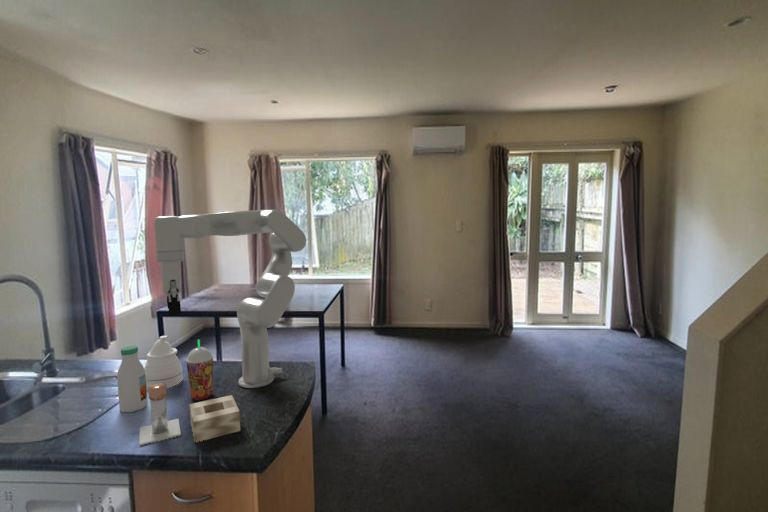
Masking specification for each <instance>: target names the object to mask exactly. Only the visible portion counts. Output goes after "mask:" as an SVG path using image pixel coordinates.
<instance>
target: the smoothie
mask: <svg viewBox="0 0 768 512" xmlns="http://www.w3.org/2000/svg"><path fill="white" fill-rule="evenodd" d="M185 362H186V369H187V378H188V383H189V384H188V385H189V392H190V396H191V397H192V399H193V400H195V401H201V400H203V401H204V400H206V399H208V398H209V397H211V395H212V393H213V382H214V381H213V377H214V376H213V375H214V373H213V369H214V368H213V367H214V355H213V354H212V353H211V351H210V350H209V349H208V348H206V347H203V346H201V340H200V339H197V347H195V348H193V349H192V350H191V351H189V353H188V355H187V357H186V359H185Z"/></svg>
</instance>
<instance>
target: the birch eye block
mask: <svg viewBox="0 0 768 512" xmlns="http://www.w3.org/2000/svg"><path fill="white" fill-rule="evenodd" d="M188 406H189V418H190V422H189V423H190V426H191V427H192V428H191V431H192V432H193V433H192V432H191V433H192V436H193V437H194V438H193V442H194V443H195V442H196V443H199V441H200V442H204V441H207V440H211V439H214V438H215V439H216V438H219V437H222V436H225V435H229V434H233V433H238V432H240V431H241V419H240V418H241V416H240V409H239V407H238V405H237V402H236V401H235V399H234V396H233V395H232V394H231V395H225V396H222V397H221V396H220V397H218V398H212V399H211V398H210V399H207V400H203V401H198V402H194V403H190V404H189V405H188ZM203 440H204V441H203Z"/></svg>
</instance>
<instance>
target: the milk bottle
mask: <svg viewBox="0 0 768 512" xmlns="http://www.w3.org/2000/svg"><path fill="white" fill-rule="evenodd" d="M138 351H139V349H138V346H137V345H128V346H124V347H122V348H121V349H120V356H121V357H122V358H121V362H120V364H119V367H118V370H117V373H116V374H117V375H116V377H117V379H116V380H117V393H118V395H117V396H118V405H119V411H121V412H122V413H134V412H137V411H140V410H142V409H144V408H145V407H146V406H147V405H148V393H147V391H148V390H146V378H145V370H144V367H145V366H144V365H143V364H142V362H141V361H140V358H139V357H138V354H139V352H138Z"/></svg>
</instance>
